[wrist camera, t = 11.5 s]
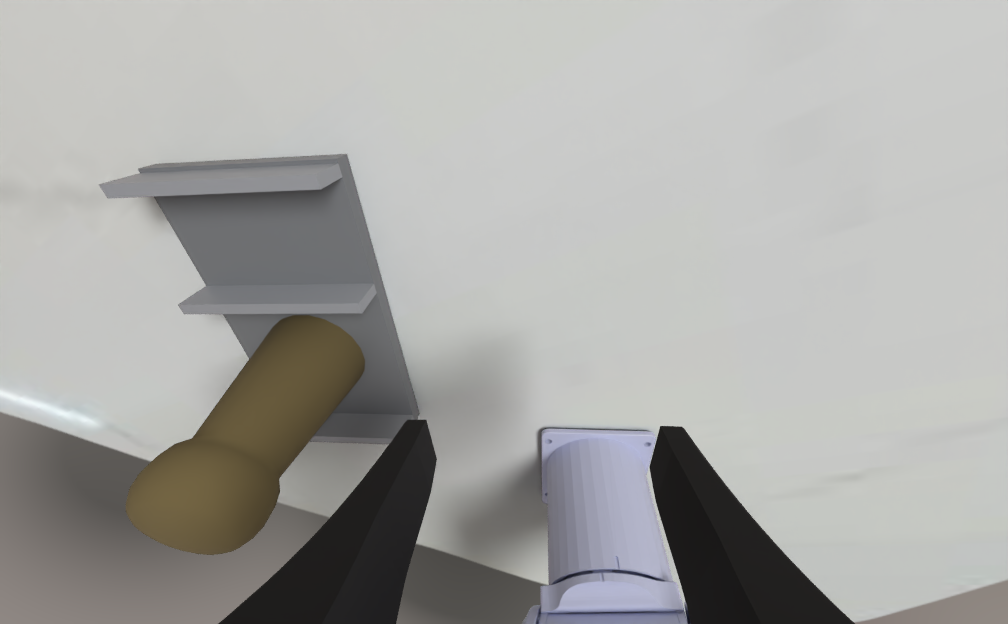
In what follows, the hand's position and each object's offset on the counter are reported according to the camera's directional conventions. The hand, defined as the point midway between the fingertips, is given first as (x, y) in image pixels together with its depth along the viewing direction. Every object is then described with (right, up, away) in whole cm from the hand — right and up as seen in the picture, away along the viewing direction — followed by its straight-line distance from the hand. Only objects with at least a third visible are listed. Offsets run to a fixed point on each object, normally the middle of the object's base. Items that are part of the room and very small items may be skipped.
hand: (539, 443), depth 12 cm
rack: (-13, +4, +11) cm, 18 cm away
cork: (-13, +2, +12) cm, 18 cm away
